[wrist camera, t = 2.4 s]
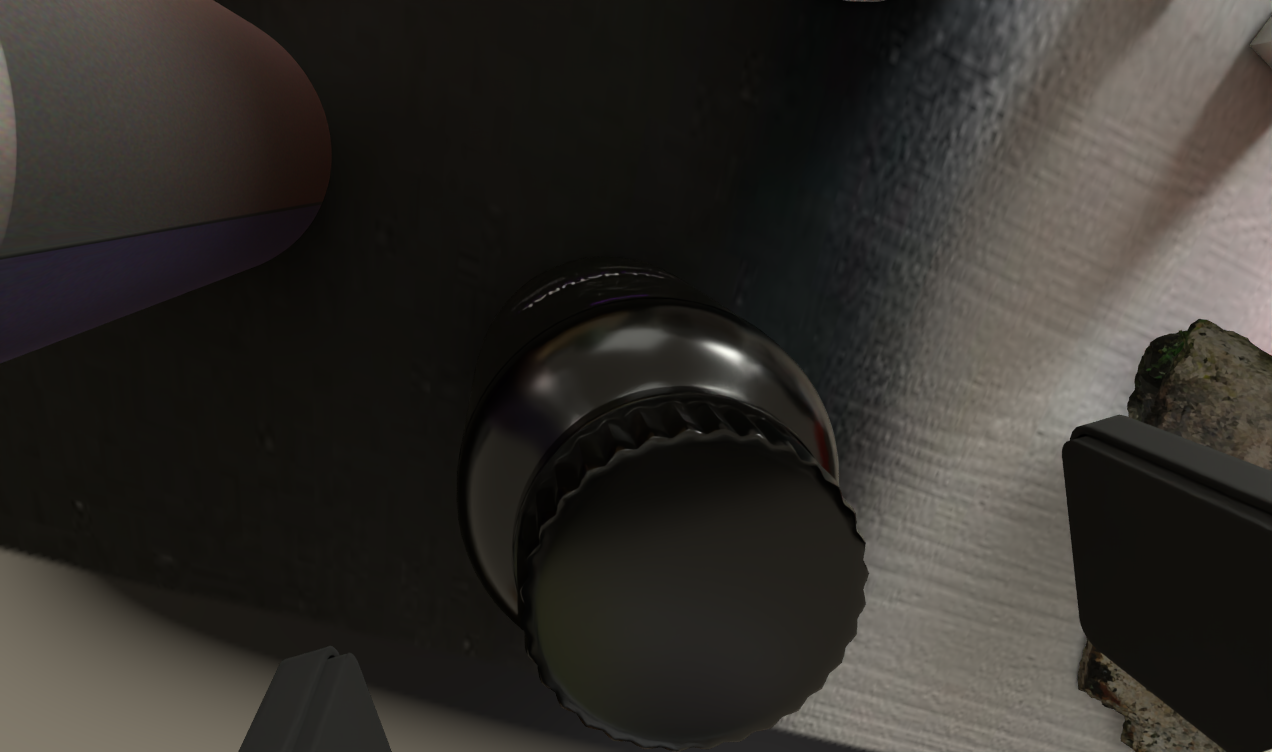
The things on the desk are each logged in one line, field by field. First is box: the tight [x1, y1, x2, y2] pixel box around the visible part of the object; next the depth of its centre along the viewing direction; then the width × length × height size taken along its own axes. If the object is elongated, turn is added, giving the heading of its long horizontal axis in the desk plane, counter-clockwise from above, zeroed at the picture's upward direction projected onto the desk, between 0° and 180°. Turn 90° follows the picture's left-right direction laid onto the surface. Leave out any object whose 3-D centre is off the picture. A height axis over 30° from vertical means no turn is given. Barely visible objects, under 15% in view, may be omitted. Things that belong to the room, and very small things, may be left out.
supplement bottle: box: [457, 256, 869, 752], centre depth 17 cm, size 7×7×12 cm
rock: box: [1078, 319, 1272, 752], centre depth 24 cm, size 17×3×10 cm
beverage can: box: [0, 0, 332, 363], centre depth 12 cm, size 6×6×15 cm
